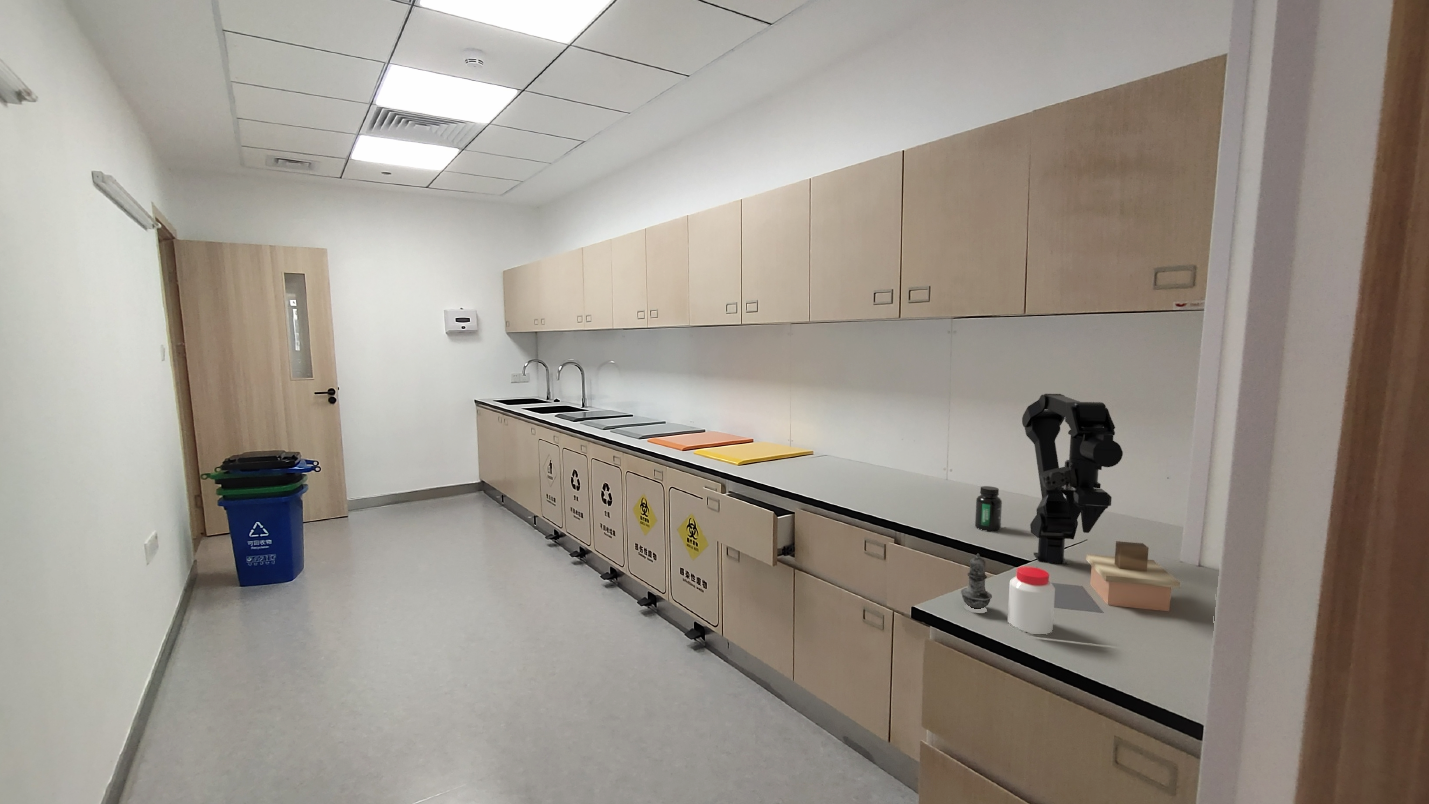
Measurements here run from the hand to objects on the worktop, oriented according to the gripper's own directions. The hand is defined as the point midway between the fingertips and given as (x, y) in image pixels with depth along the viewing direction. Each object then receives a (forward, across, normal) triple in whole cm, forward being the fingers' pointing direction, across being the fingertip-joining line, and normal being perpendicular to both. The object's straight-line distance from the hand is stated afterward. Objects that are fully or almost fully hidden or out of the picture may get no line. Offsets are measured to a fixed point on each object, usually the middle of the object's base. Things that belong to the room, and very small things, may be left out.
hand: (1079, 526), depth 138 cm
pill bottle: (+13, +27, -15) cm, 34 cm away
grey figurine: (+13, +22, -24) cm, 35 cm away
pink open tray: (+13, +7, +8) cm, 17 cm away
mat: (+13, +10, -6) cm, 18 cm away
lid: (+7, +7, +8) cm, 13 cm away
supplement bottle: (+13, -38, -13) cm, 42 cm away
